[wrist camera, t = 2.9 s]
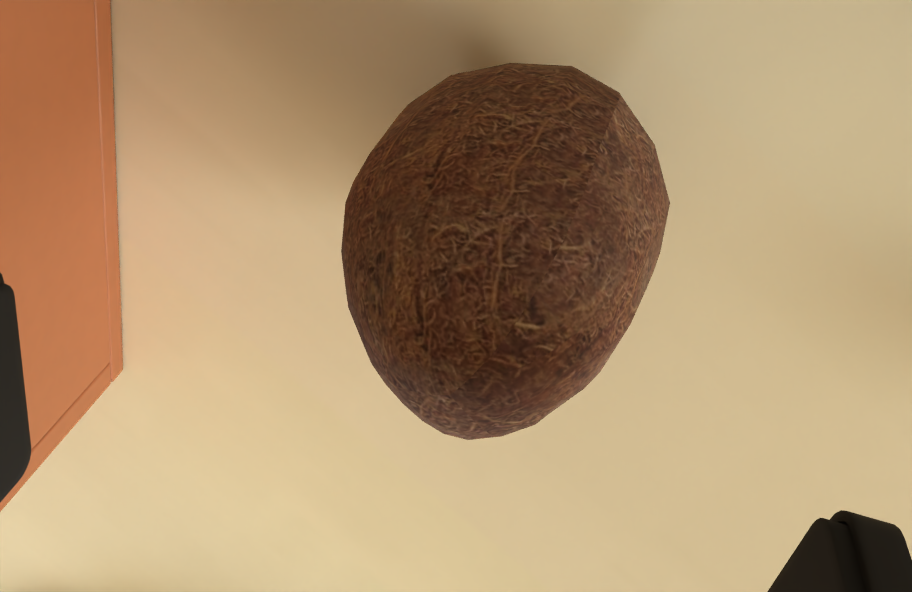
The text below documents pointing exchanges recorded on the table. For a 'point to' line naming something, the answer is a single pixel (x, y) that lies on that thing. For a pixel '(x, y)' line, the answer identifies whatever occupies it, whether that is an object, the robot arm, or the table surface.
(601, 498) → the table surface
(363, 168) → the coconut
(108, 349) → the box
